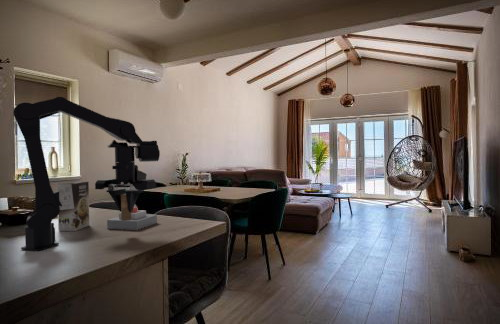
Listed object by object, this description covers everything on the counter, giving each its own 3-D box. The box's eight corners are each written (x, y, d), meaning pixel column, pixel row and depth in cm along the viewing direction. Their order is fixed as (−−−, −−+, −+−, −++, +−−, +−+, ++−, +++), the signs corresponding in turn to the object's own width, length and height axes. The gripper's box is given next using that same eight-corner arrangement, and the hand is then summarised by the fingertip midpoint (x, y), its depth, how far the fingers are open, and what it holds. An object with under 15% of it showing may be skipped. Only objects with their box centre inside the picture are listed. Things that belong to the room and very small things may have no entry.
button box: (137, 230, 109) (136, 215, 109) (107, 228, 113) (106, 214, 113) (157, 222, 121) (156, 209, 121) (129, 221, 124) (129, 208, 124)
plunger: (133, 216, 115) (133, 208, 115) (126, 216, 116) (125, 208, 115) (139, 215, 118) (139, 207, 118) (131, 214, 119) (131, 206, 119)
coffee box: (76, 231, 110) (75, 183, 109) (57, 231, 110) (56, 183, 109) (90, 225, 119) (89, 181, 118) (73, 225, 119) (71, 181, 118)
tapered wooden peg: (127, 220, 100) (126, 195, 100) (119, 220, 101) (118, 194, 101) (133, 218, 103) (132, 193, 103) (125, 218, 104) (124, 193, 104)
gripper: (165, 161, 107) (166, 208, 107) (117, 161, 112) (118, 207, 113) (144, 162, 96) (146, 214, 97) (93, 162, 102) (94, 212, 102)
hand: (126, 211), depth 102 cm, fingers closed on tapered wooden peg, 3 cm apart
